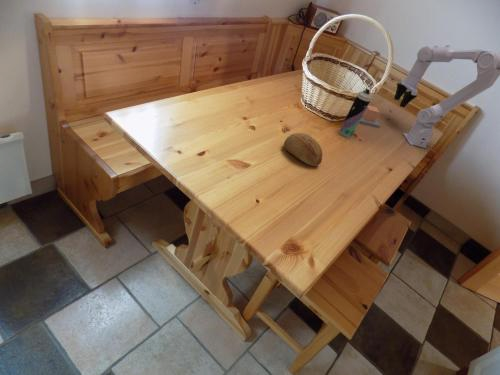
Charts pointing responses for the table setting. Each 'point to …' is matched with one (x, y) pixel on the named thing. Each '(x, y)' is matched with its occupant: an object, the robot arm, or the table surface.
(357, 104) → the spray can
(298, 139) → the bread roll
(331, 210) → the table surface
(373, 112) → the clay cube
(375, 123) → the slate tile
